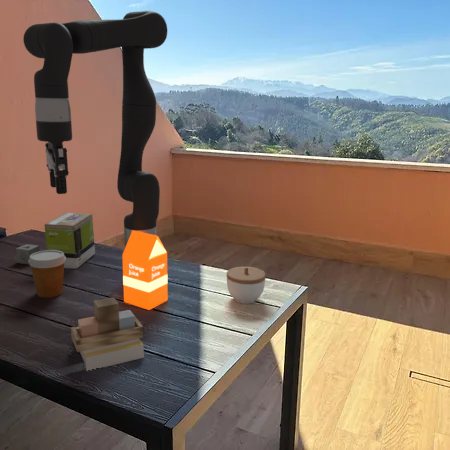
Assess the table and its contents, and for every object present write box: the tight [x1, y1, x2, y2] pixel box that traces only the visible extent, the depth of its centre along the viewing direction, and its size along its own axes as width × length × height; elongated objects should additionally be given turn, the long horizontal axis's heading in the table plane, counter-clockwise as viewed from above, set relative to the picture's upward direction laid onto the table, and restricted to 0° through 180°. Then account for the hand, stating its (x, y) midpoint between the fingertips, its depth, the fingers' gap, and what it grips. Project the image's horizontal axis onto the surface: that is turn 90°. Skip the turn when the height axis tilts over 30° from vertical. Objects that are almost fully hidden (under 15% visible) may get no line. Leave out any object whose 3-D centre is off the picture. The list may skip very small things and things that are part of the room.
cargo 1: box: [77, 316, 99, 338], centre depth 99 cm, size 3×3×3 cm
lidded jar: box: [226, 266, 267, 305], centre depth 130 cm, size 11×11×9 cm
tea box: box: [44, 212, 96, 269], centre depth 155 cm, size 15×10×15 cm, turn 172°
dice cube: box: [15, 243, 41, 266], centre depth 155 cm, size 5×5×5 cm
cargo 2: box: [119, 309, 136, 330], centre depth 103 cm, size 3×3×3 cm
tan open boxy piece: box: [70, 296, 144, 353], centre depth 101 cm, size 14×6×8 cm, turn 118°
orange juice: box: [121, 230, 169, 311], centre depth 123 cm, size 8×9×20 cm
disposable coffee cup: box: [28, 249, 66, 299], centre depth 128 cm, size 10×10×12 cm
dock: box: [79, 338, 145, 372], centre depth 102 cm, size 12×12×3 cm
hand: (58, 190), depth 110 cm, fingers open, 8 cm apart
